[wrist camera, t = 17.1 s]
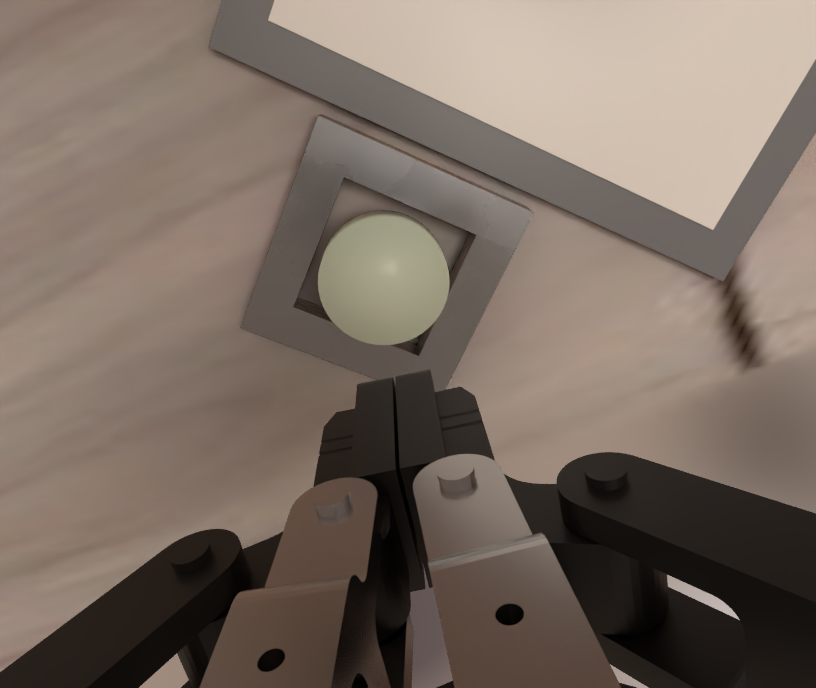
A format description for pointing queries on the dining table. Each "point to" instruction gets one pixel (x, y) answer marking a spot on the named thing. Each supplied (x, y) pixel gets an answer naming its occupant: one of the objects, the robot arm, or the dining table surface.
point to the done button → (383, 278)
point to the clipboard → (572, 98)
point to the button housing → (410, 184)
